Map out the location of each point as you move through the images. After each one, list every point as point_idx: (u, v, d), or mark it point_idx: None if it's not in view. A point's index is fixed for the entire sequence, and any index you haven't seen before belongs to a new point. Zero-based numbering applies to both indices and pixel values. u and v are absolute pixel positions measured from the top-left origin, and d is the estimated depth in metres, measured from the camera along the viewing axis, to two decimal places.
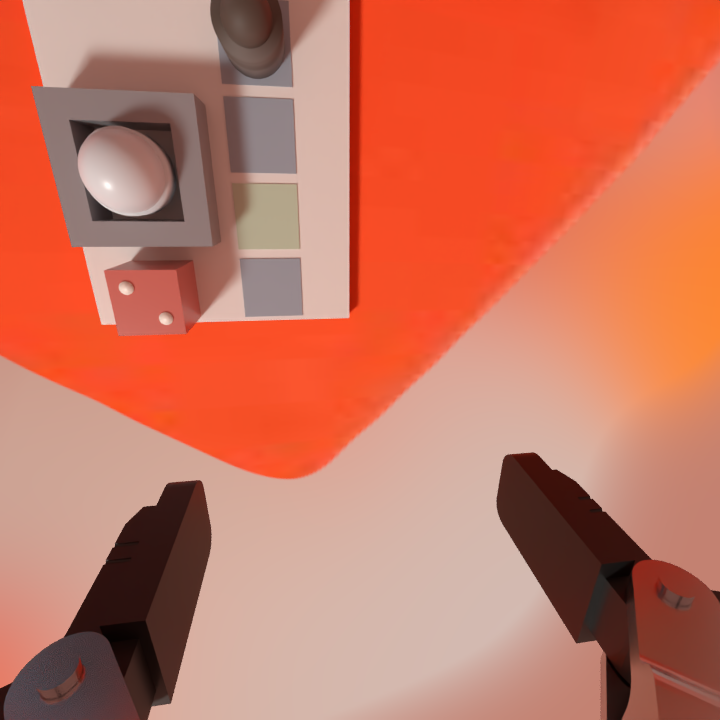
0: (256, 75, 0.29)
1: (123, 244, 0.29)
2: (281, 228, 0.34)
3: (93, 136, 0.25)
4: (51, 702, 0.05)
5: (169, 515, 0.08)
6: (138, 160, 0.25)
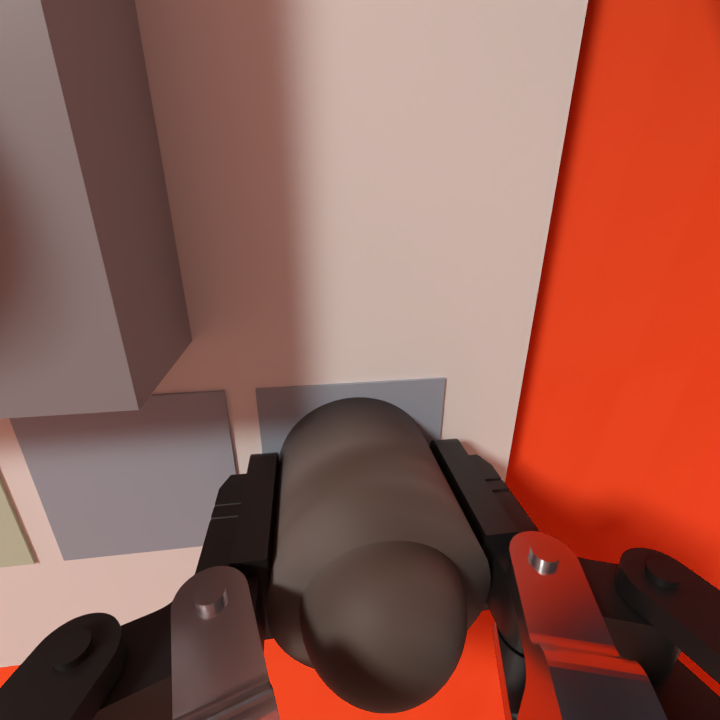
0: None
1: None
2: None
3: None
4: (210, 616, 0.06)
5: (260, 479, 0.09)
6: None
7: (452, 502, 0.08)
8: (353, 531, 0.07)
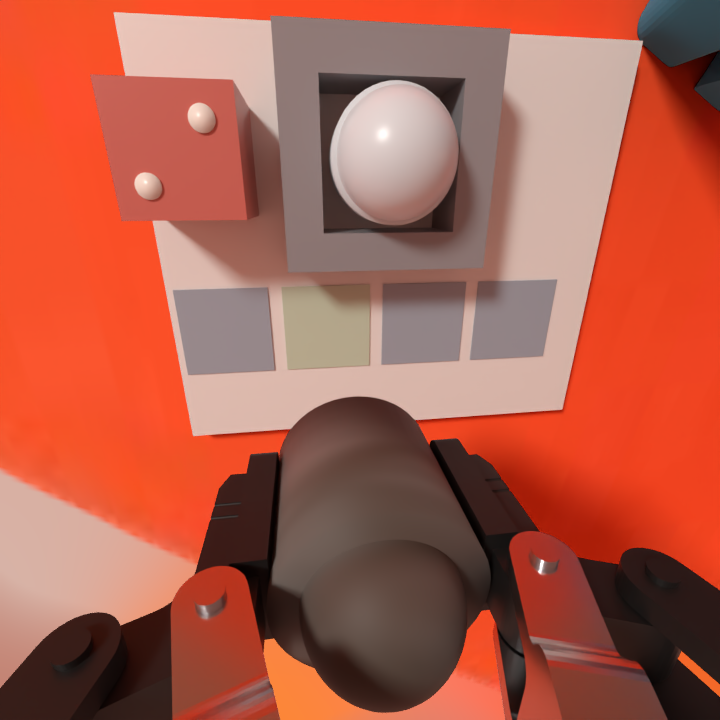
0: None
1: (281, 121, 0.17)
2: (314, 346, 0.24)
3: (453, 130, 0.16)
4: (210, 616, 0.06)
5: (260, 479, 0.09)
6: (420, 199, 0.16)
7: (452, 501, 0.08)
8: (353, 530, 0.07)
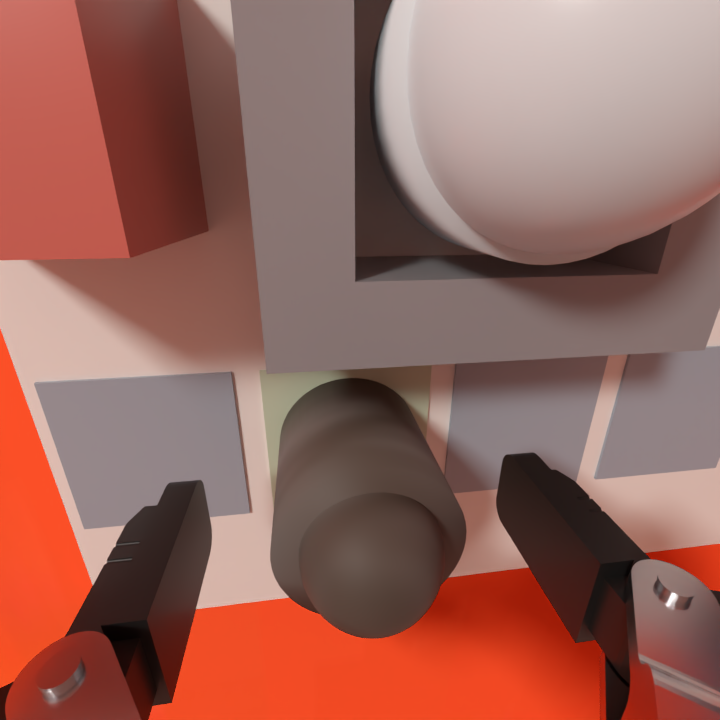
0: None
1: None
2: None
3: None
4: (52, 701, 0.05)
5: (169, 515, 0.08)
6: (699, 194, 0.05)
7: (433, 464, 0.09)
8: (345, 483, 0.08)
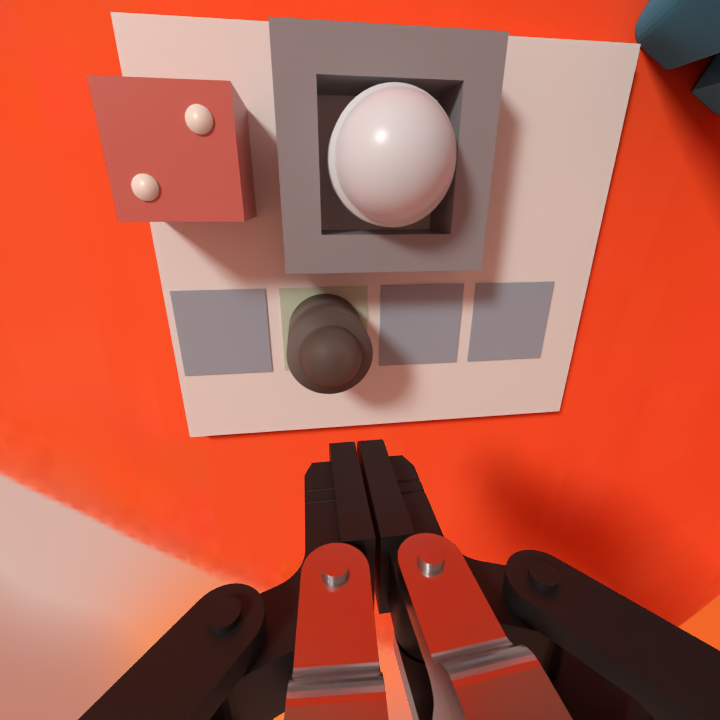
0: None
1: (279, 122, 0.17)
2: None
3: (451, 132, 0.16)
4: (341, 587, 0.07)
5: (346, 466, 0.10)
6: (417, 201, 0.16)
7: (359, 320, 0.20)
8: (317, 319, 0.19)
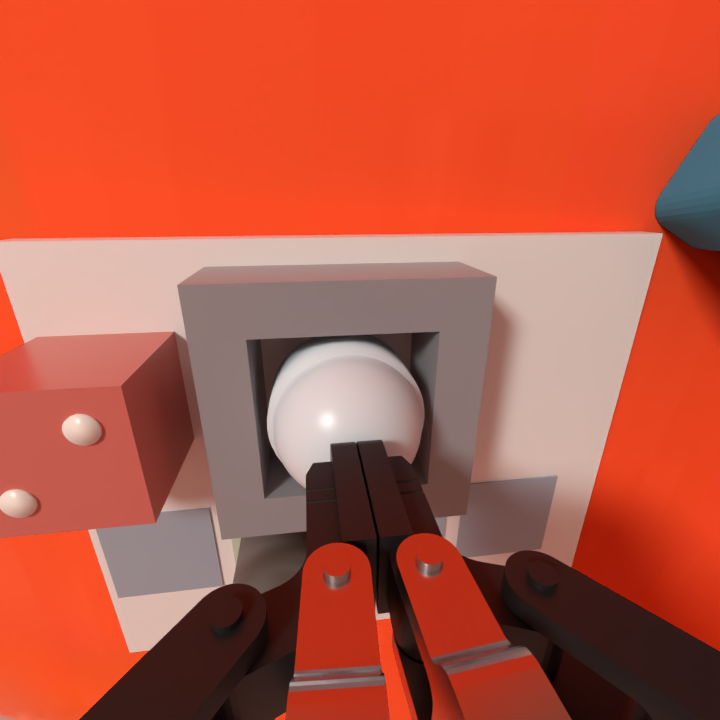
0: None
1: (201, 393, 0.13)
2: None
3: (413, 419, 0.13)
4: (343, 587, 0.07)
5: (347, 466, 0.10)
6: None
7: None
8: None
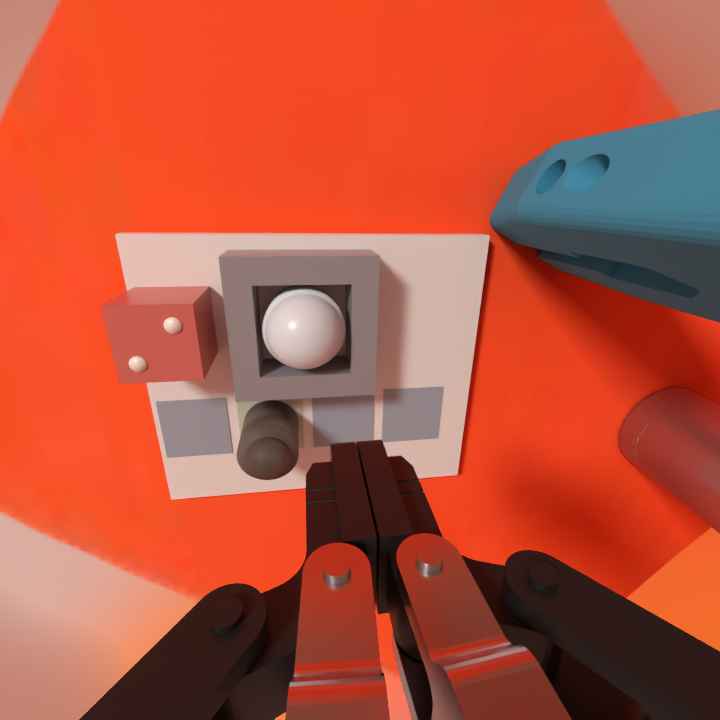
0: None
1: (227, 314, 0.25)
2: None
3: (335, 324, 0.25)
4: (343, 587, 0.07)
5: (347, 466, 0.10)
6: (315, 364, 0.26)
7: (289, 429, 0.29)
8: (257, 433, 0.28)
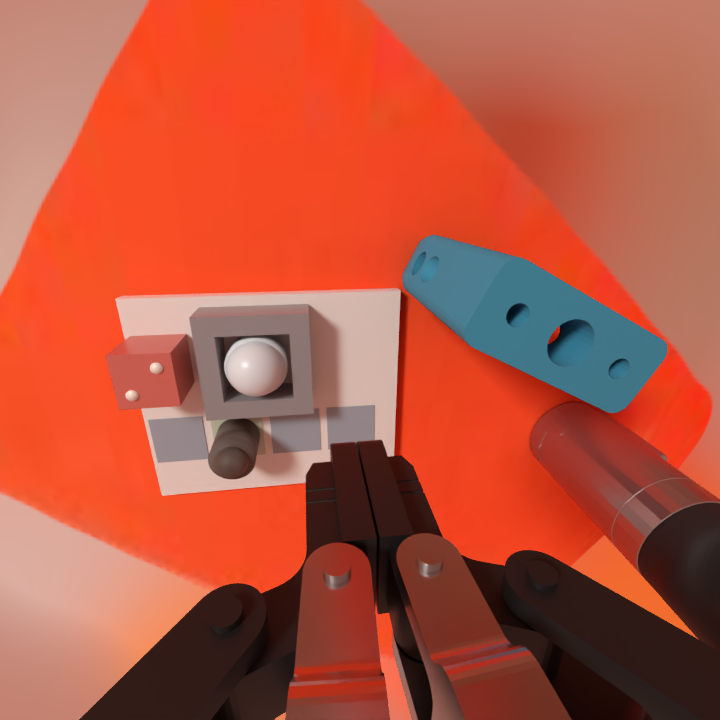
0: None
1: (197, 357, 0.35)
2: None
3: (276, 364, 0.35)
4: (342, 587, 0.07)
5: (347, 466, 0.10)
6: (263, 393, 0.35)
7: (248, 441, 0.38)
8: (223, 444, 0.37)
